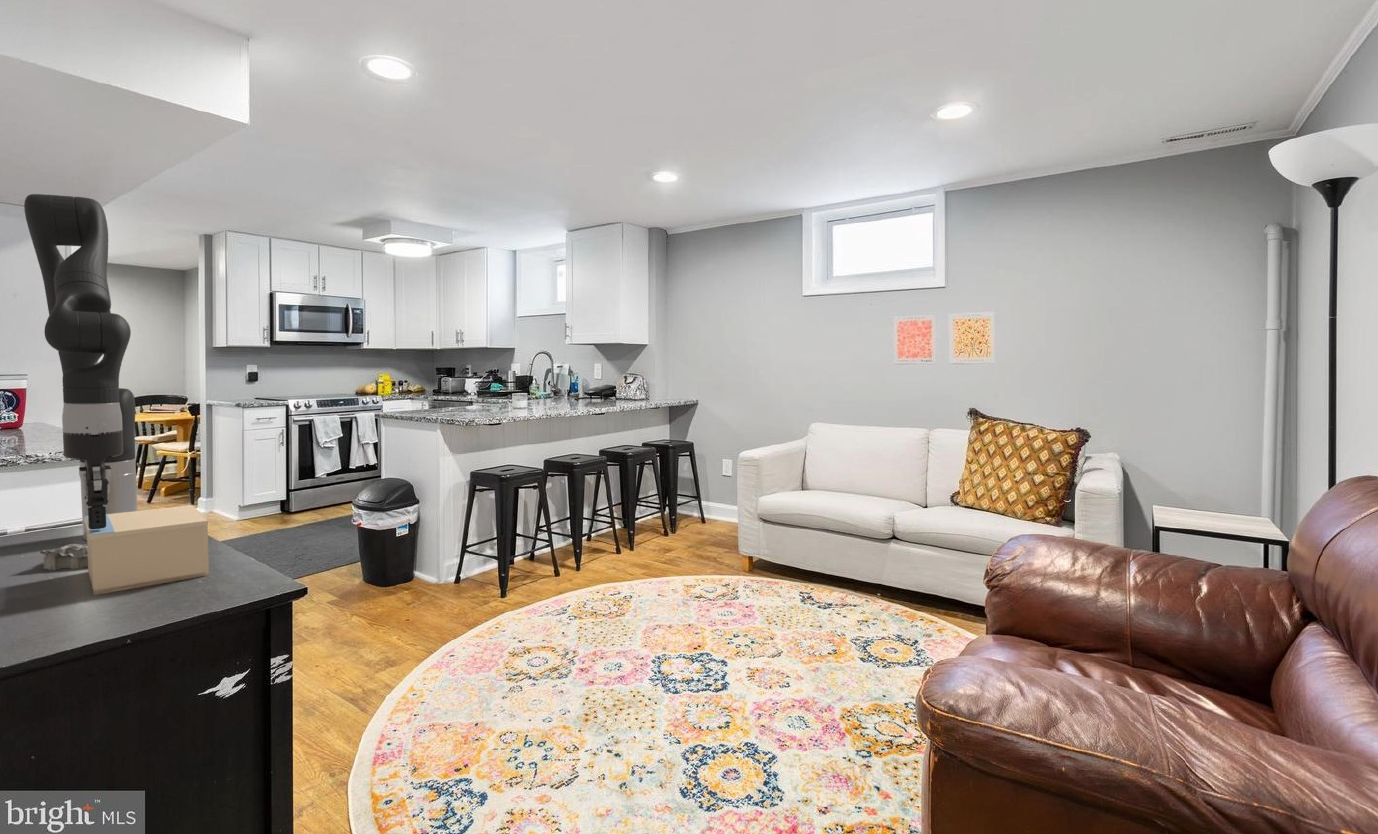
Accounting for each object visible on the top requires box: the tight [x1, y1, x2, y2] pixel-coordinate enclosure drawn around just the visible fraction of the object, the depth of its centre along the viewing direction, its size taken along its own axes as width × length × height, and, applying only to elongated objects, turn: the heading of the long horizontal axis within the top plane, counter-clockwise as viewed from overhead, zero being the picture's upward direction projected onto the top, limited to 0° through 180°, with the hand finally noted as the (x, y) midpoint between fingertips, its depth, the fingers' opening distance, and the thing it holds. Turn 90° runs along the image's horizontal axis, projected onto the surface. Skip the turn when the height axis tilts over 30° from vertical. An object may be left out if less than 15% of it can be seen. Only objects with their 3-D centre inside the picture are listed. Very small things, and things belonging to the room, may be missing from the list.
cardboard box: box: [86, 525, 210, 596], centre depth 121 cm, size 16×16×10 cm
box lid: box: [84, 504, 209, 540], centre depth 120 cm, size 16×16×1 cm
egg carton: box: [39, 543, 88, 571], centre depth 125 cm, size 11×8×4 cm
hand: (97, 528), depth 111 cm, fingers closed
